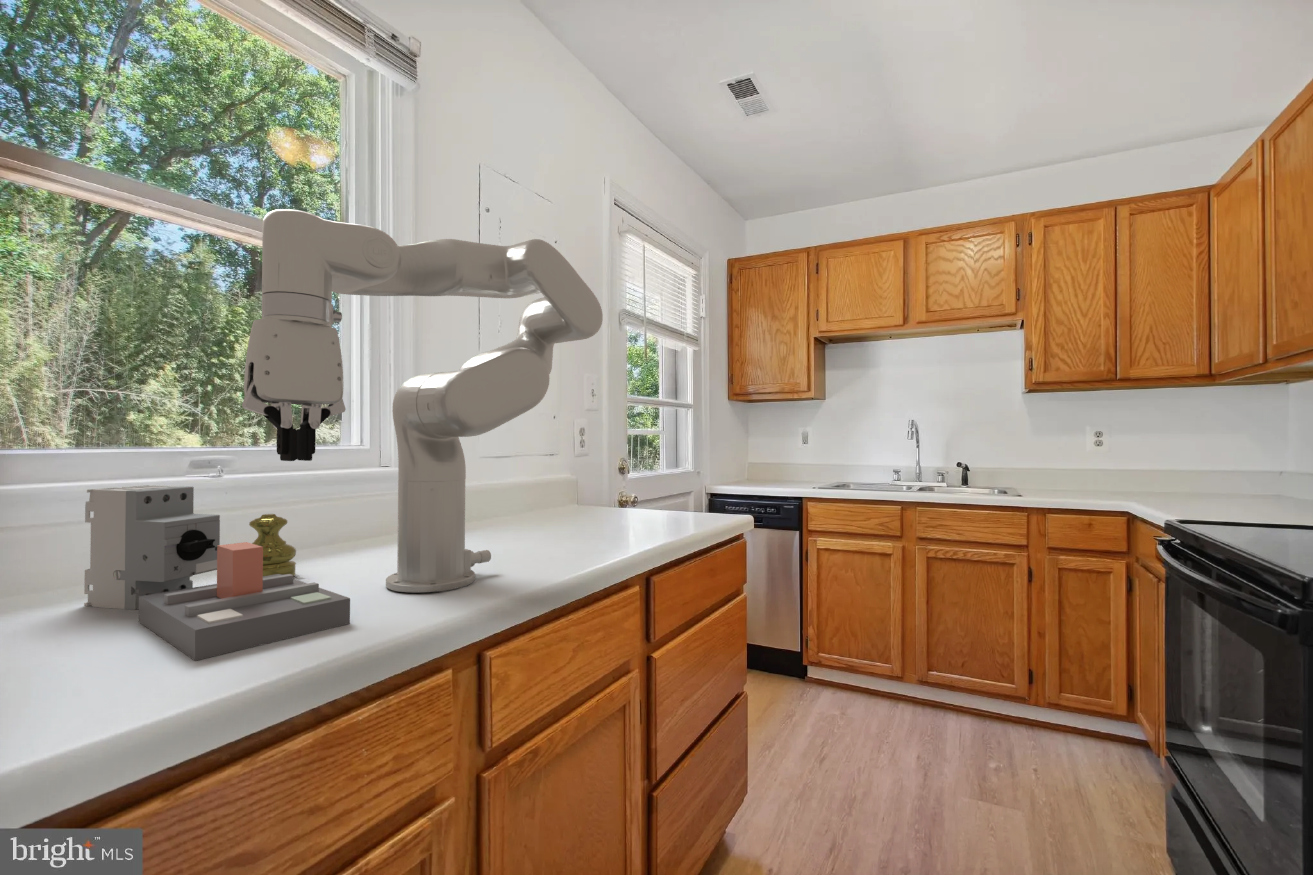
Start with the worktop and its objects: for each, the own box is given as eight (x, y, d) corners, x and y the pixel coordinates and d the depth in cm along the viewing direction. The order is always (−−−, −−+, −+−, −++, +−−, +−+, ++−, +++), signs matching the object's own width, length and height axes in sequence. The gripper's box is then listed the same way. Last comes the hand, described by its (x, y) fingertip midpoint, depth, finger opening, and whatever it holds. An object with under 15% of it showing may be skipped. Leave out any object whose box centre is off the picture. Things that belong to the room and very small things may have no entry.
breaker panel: (279, 595, 82) (279, 566, 82) (349, 623, 70) (350, 589, 70) (138, 621, 70) (138, 587, 70) (194, 660, 58) (195, 619, 58)
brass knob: (301, 572, 97) (301, 510, 97) (289, 583, 90) (289, 516, 90) (248, 575, 94) (248, 512, 94) (231, 586, 87) (232, 518, 87)
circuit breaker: (174, 613, 74) (175, 492, 74) (84, 605, 77) (85, 489, 77) (229, 597, 81) (230, 487, 81) (144, 591, 84) (145, 485, 84)
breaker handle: (246, 591, 73) (246, 542, 73) (262, 598, 70) (262, 546, 70) (216, 596, 70) (217, 545, 70) (232, 603, 67) (232, 550, 67)
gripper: (345, 326, 83) (344, 458, 83) (213, 306, 71) (211, 461, 71) (373, 320, 79) (371, 460, 79) (237, 298, 66) (235, 463, 66)
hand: (296, 459), depth 75 cm, fingers closed
